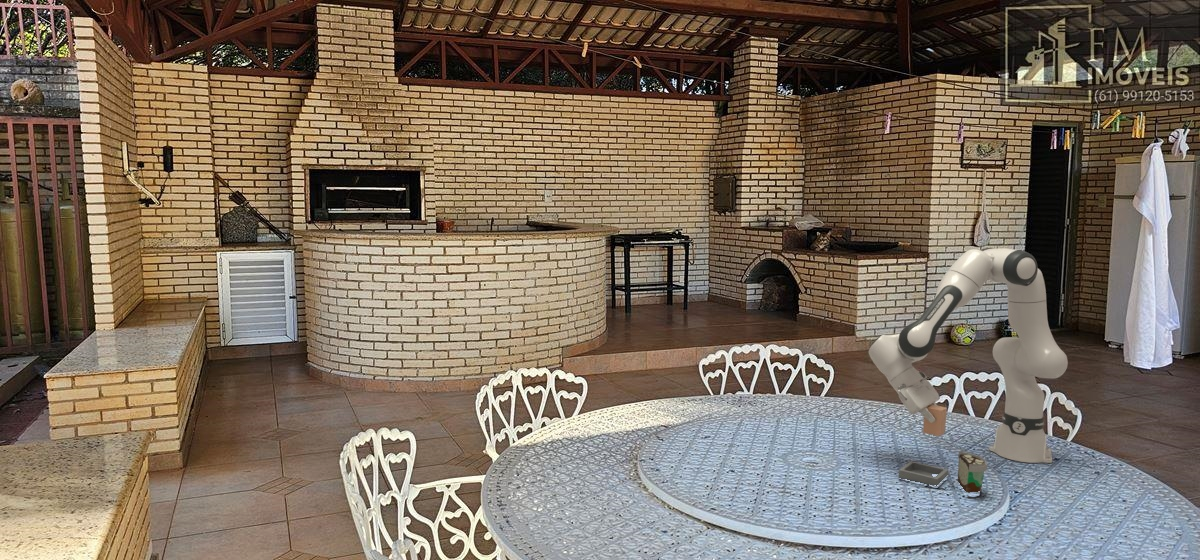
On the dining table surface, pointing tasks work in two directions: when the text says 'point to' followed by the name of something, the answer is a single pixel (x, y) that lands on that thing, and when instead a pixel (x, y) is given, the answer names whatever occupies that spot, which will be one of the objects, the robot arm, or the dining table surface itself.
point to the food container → (971, 471)
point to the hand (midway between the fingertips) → (937, 419)
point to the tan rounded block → (938, 424)
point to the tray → (922, 473)
